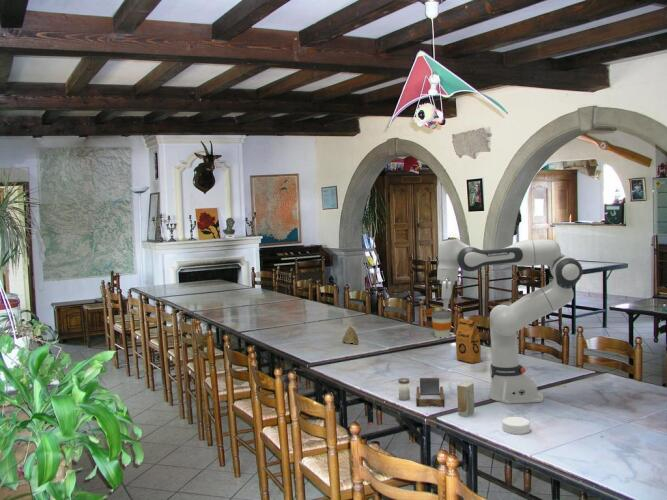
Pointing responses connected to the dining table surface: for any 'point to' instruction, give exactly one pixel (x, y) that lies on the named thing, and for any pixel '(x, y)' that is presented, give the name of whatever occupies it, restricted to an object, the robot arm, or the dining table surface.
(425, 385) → the bar
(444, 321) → the reusable coffee cup
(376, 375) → the dining table surface
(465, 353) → the coffee package
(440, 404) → the brown wooden rectangular frame
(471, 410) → the skincare box
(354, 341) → the rock
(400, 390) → the jar
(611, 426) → the dining table surface
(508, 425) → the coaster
